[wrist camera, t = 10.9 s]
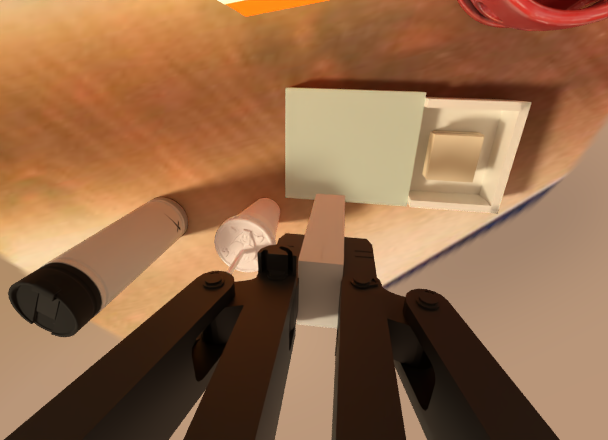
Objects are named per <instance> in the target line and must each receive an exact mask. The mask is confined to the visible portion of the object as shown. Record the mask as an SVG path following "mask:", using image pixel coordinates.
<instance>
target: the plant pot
mask: <svg viewBox="0 0 608 440" xmlns="http://www.w3.org/2000/svg"><path fill="white" fill-rule="evenodd" d="M457 1H458V3H459V4H460V6H461V7H462V8H463V10H464V11H465V12H466V13H467V14H468V15H469V16H470V17H472V18H473V19H475V20H476V21H478V22H480V23H482V24H485V25H488V26H493V27H500V28H509V27H510V28H514V29H519V30H526V31H548V30H559V29H566V28H572V27H577V26H582V25H586V24H590V23H594V22H597V21H600V20H604V19H607V18H608V0H600V1H599V0H457ZM596 1H598V2H597V3H595V4H593V5H592V6H589V7H587V8H584V9H580V8H582V7H584V6H586V5H588V4H590V3H593V2H596Z"/></svg>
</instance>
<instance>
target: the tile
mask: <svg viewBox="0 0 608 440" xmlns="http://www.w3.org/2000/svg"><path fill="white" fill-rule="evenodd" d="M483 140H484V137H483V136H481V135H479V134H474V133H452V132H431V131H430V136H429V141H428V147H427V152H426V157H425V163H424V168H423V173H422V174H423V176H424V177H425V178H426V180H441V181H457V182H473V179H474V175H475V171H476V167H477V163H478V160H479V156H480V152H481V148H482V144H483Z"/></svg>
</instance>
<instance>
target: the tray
mask: <svg viewBox="0 0 608 440" xmlns="http://www.w3.org/2000/svg"><path fill="white" fill-rule="evenodd" d="M531 103H532V102H526V101H517V100H505V99H476V98H446V97H426V98H425V104H424V110H423V116H422V121H421V127H420V133H419V139H418V144H417V150H416V156H415V162H414V167H413V173H412V179H411V185H410V190H409V196H408V205H409V207H414V208H428V209H442V210H456V211H469V212H483V213H497V214H498V210H499V207H500V204H501V201H502V197H503V194H504V191H505V187H506V184H507V181H508V178H509V174H510V171H511V168H512V165H513V161H514V158H515V155H516V152H517V148H518V145H519V142H520V138H521V135H522V132H523V129H524V125H525V122H526V119H527V116H528V112H529V109H530V106H531ZM433 130H447V131H468V132H478V133H481V134H483V135H484V140H483V144H482V148H481V152H480V156H479V160H478V163H477V167H476V171H475V175H474V179H473V182H457V181H441V180H426V178H425V177H424V176H423V174H422V173H423V168H424V163H425V157H426V152H427V147H428V141H429V136H430V131H431V132H433Z"/></svg>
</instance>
